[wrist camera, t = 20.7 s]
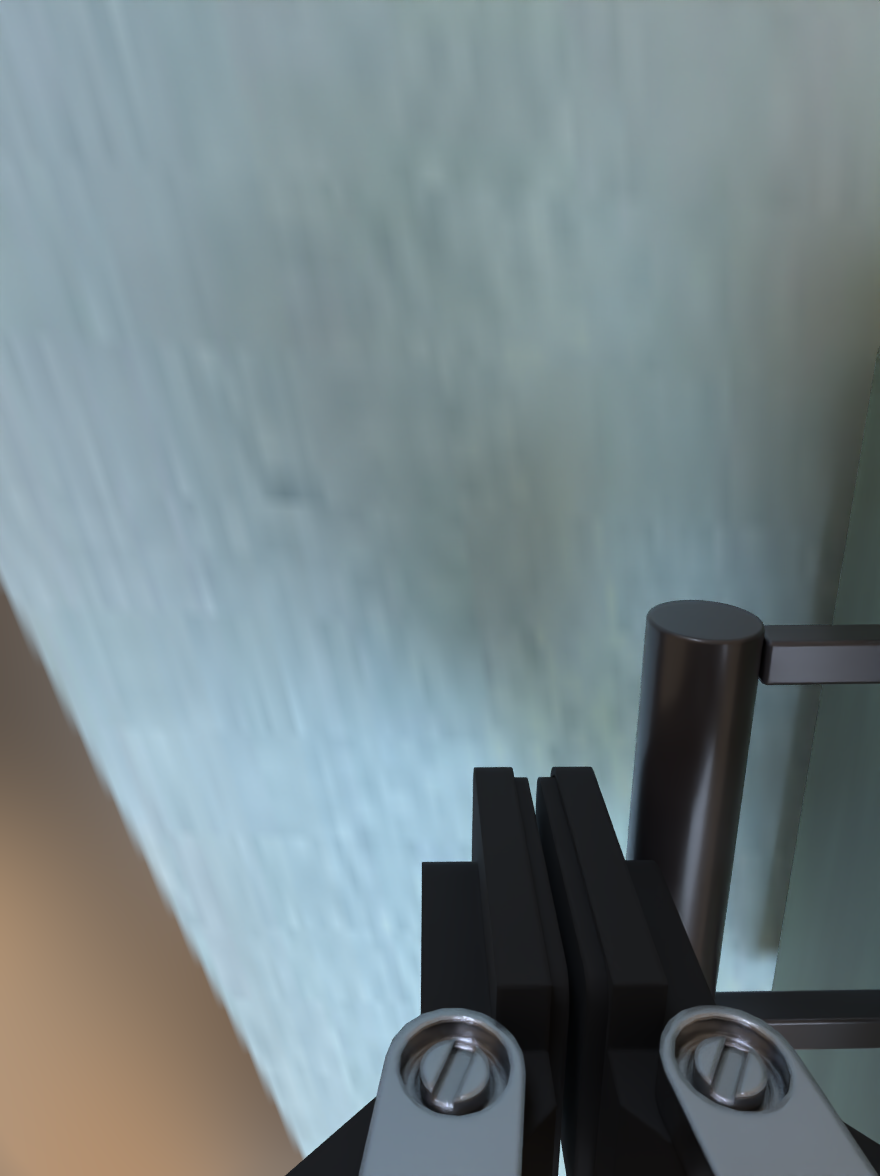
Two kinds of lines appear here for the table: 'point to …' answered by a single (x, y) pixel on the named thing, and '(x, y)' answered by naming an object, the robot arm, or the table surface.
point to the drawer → (829, 811)
